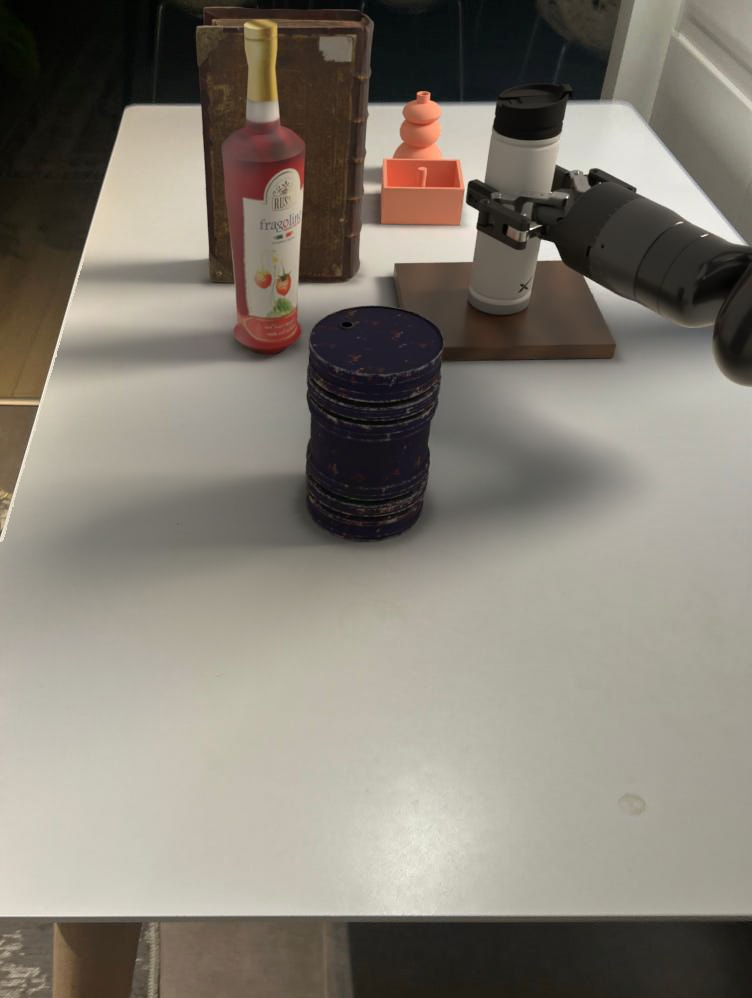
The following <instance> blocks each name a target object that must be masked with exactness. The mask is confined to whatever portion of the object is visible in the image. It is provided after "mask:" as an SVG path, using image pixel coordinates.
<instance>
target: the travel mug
mask: <svg viewBox="0 0 752 998" xmlns="http://www.w3.org/2000/svg"><path fill="white" fill-rule="evenodd" d="M568 99H570V100H573V99H574V90H573V89H572V87H571V85H570V84H569V83H566V84H565V83H564V84H555V83H549V82H548V83H546V82H537V83H535V82H533V83H526V84H521V85H516V86H513V87H510V88H507V89H505V90H504V91H502V92H500V94H499V95H498V97H497V100H496V103H495V111H494V118H493V124H492V126H491V135H490V140H489V146H488V154H487V161H486V169H485V175H484V181H483V183H485V184H487V185H489V186H491V187H493V188H495V189H496V190H498V191H500V192H501V193H508V194H515V195H517V194H519V192H520V191H522V190H527V191H534V192H542V193H552V192H551V187H552V181H553V176H554V171H555V166H556V165H557V162H558V161H557V160H558V156H559V151H560V145H561V138H562V135H563V126H564V120H565V116H566V110H567V105H568ZM503 206H505V207H507V208H509V209H511V210H513V211H514V209H515V207H514V206H513V205H509V204H503ZM532 206H533V203H531V202H527V203H526V204H525V209H524V213H525V214H526V216H525V217H527V218H529V219H531V212H532ZM476 230H477V229H476ZM541 243H542V240H541V239H539V238H537V237H534V238H531V239H528V240H527V245H526V249H524V250H515V249H513V248H511V247H509V246H507V245H506V244H504V243H502V242H500V241H498V240H496V239H494V238H492V237H490V236H488V235H486V234H485V233H483V232H481V231H479V230H477V231H476V237H475V243H474V244H475V246H474V252H473V256H472V257H473V259H472V262H473V264H472V271H471V278H470V286H469V292H468V300H469V302H470V304H471V305H472V306H473V307H475V308H476V309H478V310H480V311H482V312H485V313H488V314H493V315H510V314H515V313H518V312H520V311H522V310H524V309H525V308H526V307H527V306H528V304H529V300H530V295H531V289H532V284H533V279H534V274H535V269H536V264H537V261H538V259H539V258H538V257H539V254H540V248H541Z"/></svg>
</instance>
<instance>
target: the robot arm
mask: <svg viewBox="0 0 752 998" xmlns="http://www.w3.org/2000/svg"><path fill="white" fill-rule="evenodd" d="M637 190H638V189H637V187H636V186H633V185H632V184H629V183H628V182H626V181H624V180H622V179H620V178H618V177H616V176H614V175H612V174H610V173H608V172H606V171H604V170H603V169H601V168H598V167H593V168H590V169H589V170H588V173H587V174H584V172H583V171H582V170H579V169H573V170H569V169H566V168H564V167H562V166H560V165H558V164H556V166H555V171H554V176H553V181H552V187H551V192H550V193H542V192H534V191H527V190H522V191H520V192H519V194H517V195H515V194H508V193H501V192H500V191H498V190H496V189H495V188H493V187H491V186H489V185H487V184H485V183H484V181H482V180H479V179H478V178H475V179H472V180H469V181H468V182H467V187H466V195H465V203H466V205H467V206H469V207H471V208H472V209H474V210H476V211H478V215H477V222H476V226H475V229H476V230H479V231H481V232H483V233H485V234H486V235H488V236H490V237H492V238H494V239H496V240H498V241H500V242H502V243H504V244H506V245H507V246H509V247H511V248H513V249H515V250H524V249H526V245H527V240H528V239H531V238H534V237H537V238H539V239H541V241H547V242H550V243H553V245H554V246H555V248H556V250H557V252H558V255H559V258H560V260H562V261H563V263H564V264H565V265H566V266H568V267H569V268H571V269H573V270H575V271H576V272H578V273H580V274H582V275H583V276H584V278H587V279H589V280H591V281H592V282H594V283H595V284H597V285H599V286H601V287H602V288H604V289H606V290H607V291H610V292H611V293H613V294H615V295H617V296H619V297H621V298H623V299H626V300H628V301H631V302H634V303H637V304H639V305H641V306H643V307H645V308H646V309H648V310H650V311H651V312H653V313H654V314H657V315H659V316H660V317H662V318H664V319H665V320H667V321H669V322H671V323H673V324H675V325H677V326H680V327H683V328H687V329H700V328H704V327H709V326H713V328H712V334H711V351H712V356H713V359H714V362H715V365H716V366H717V369H718V370H719V372H720V373H721V374H722V375H723V376H724V377H725V378H726V379H727V380H729V381H730V382H732V383H734V384H736V385H739V386H741V387H746V388H752V245H745V244H738V243H734V242H731V241H728V240H727V239H725V238H723V237H722V236H719V235H717V234H714V233H713V232H710V231H709V230H706V229H704V228H703V227H700V226H698V225H696V224H693V223H692V222H690V221H689V220H687V219H686V218H684V217H682V216H681V215H680V214H678V213H677V212H676V211H675V210H673V209H671V208H669V207H667V206H665V205H663V204H661V203H658V202H656V201H654V200H652V199H650V198H648V197H645V196H644V195H642V194H639V193H637V192H638V191H637ZM527 202H531V203H533V206H532V212H531V219H529V218H527V217H525V216H526V214H525V213H524V209H525V204H526V203H527ZM503 204H509V205H513V206H514V207H515V209H514V211H513V210H511V209H509V208H507V207H505V206H503Z"/></svg>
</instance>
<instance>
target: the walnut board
mask: <svg viewBox="0 0 752 998" xmlns="http://www.w3.org/2000/svg"><path fill="white" fill-rule="evenodd" d="M472 264H473V261H448V262H447V261H444V262H443V261H442V262H440V261H439V262H394V265H393V280H394V281H393V282H394V285H395V286H394V287H395V291H396V297H397V301H398V306H399V307H398V308H401V309H405V310H409V311H412V312H414V313H417V314H420V315H422V316H424V317H425V318H427V319H429V320H430V321H432V322H433V323H434V324H435V325H436V326H437V327H438V328H439V329H440V331H441V332H442V334H443V337H444V349H443V355H442V362H444V361H445V362H446V361H500V360H501V361H502V360H506V361H507V360H556V359H557V360H563V359H566V360H567V359H569V360H571V359H613V358H614V357H615V352H616V349H617V342H616V340H615V338H614V335H613V334H612V332H611V330H610V328H609V326H608V323H607V322H606V320H605V317H604V316H603V313H602V311H601V310H600V309H601V308H600V307H599V305H598V303H597V301H596V299H595V297H594V295H593V293H592V291H591V288H590V287H589V284H588V283H587V281H586V277H585V276H583V275H582V274H580V273H578V272H576V271H575V270H573V269H571V268H569V267H568V266H566V265H565V264H564V263H563V261H562V259H560V260H557V259H556V260H537V264H536V269H535V274H534V279H533V284H532V289H531V295H530V300H529V304H528V306H527V307H526V308H525V309H524V310H522V311H520V312H518V313H515V314H510V315H493V314H488V313H485V312H482V311H480V310H478V309H476V308H475V307H473V306H472V305H471V304H470V302H469V300H468V292H469V286H470V278H471V271H472Z"/></svg>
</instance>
